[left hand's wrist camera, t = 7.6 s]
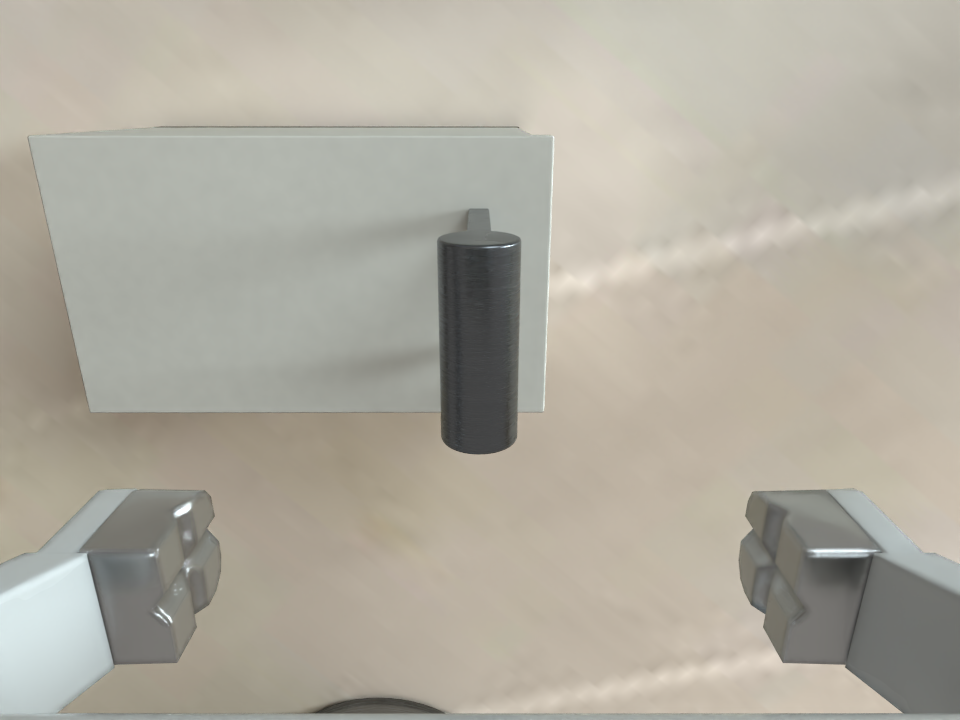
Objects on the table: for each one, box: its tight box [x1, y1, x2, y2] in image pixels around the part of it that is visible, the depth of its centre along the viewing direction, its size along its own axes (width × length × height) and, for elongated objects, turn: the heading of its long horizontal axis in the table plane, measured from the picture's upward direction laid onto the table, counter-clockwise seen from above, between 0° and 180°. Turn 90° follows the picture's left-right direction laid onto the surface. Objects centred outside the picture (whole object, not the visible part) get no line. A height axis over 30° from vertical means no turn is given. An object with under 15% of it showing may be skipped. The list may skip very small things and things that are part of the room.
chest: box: [47, 127, 531, 135], centre depth 29 cm, size 17×10×9 cm, turn 90°
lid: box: [28, 135, 554, 454], centre depth 21 cm, size 18×10×8 cm, turn 90°
